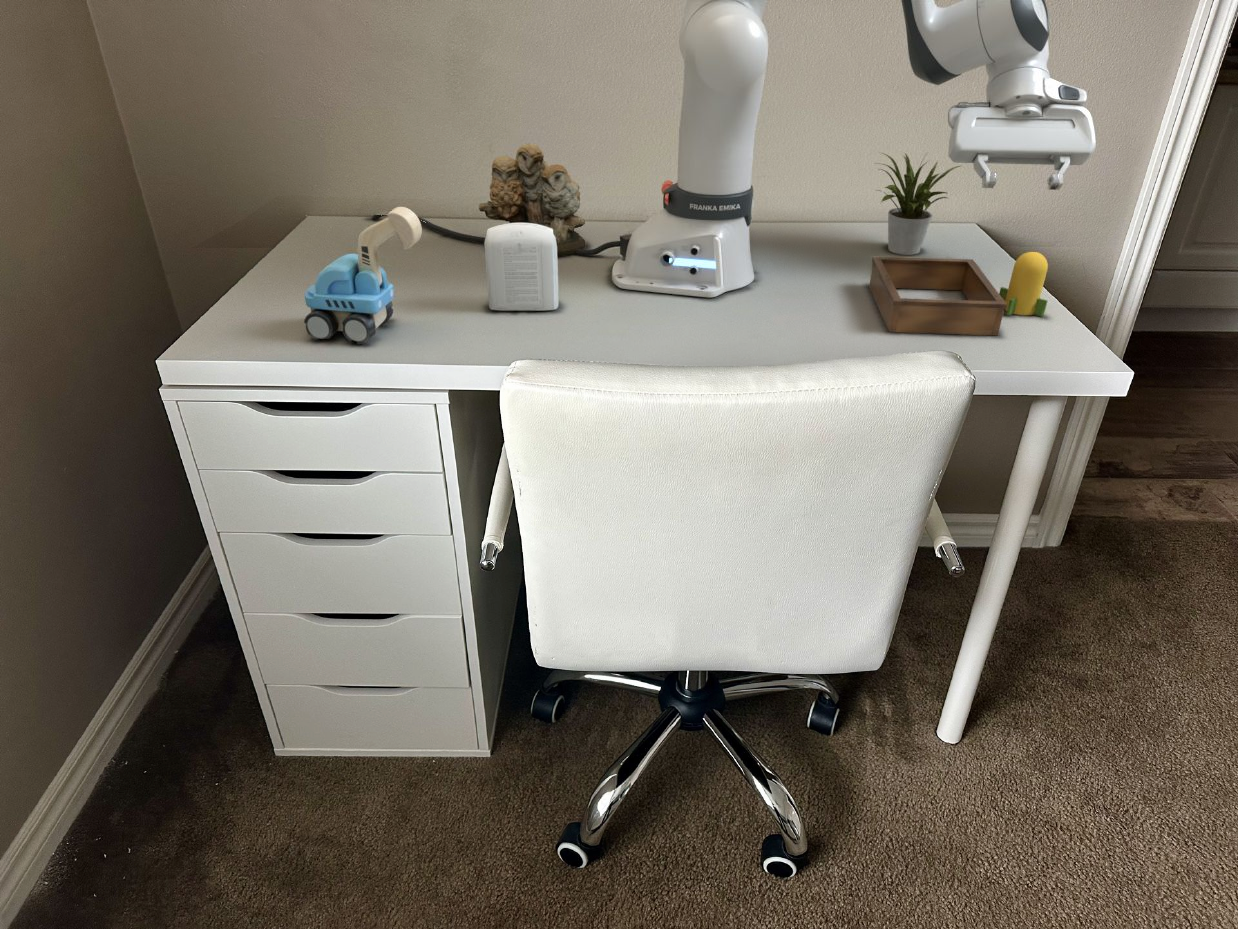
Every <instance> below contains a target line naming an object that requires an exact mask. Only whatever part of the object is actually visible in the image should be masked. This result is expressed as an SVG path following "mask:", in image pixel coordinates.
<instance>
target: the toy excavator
mask: <svg viewBox="0 0 1238 929" xmlns="http://www.w3.org/2000/svg"><path fill="white" fill-rule="evenodd" d="M391 210H392V211H390V212H389V213H387V216H386V218H384V219H382V220H379V221H378V222H375V223H374V224H372V225H370V226H368V227H366V228H364V230H362V231H361V232H360V233H359V236H358V239H357V254H356V253H347V254H344V255H341V256H339V257H338V258H336V259H335V260H333V261H332V262H330V263H329V264H328V265H327V266H325V267H323V268H322V269H321V270H320V271H319V273H318V274H317V277H316V280H315V283H313V284H311V285H310V286H309V287H308V289H307V290H305V292H304V299H305V300H304V301H305V305H306V307H308V308H310V312H309V313H308V314H307V315H306V316H305V318H304V321H303V323H304V324H305V331H306V332H307V334H308V336H310V337H311V338H312V339H314V340H317V341H319V340H328V339H330V338H332V336H334V335H335V334H336V333H337V332H342V335H343V336H344V337H345V338H346V339H347V340H349V342H350V343H351V342H352V341H355V342H356V345H364V344H366V343H367V342H368V341H369V340H370V339H371V338H372V337H373V336H374V335H375V334H376V330H377V329H378V328H379V327H380V326H383V325H385V324H386V323H387V322H388V321H389V320H390V319H391V318H392V317H393V314H394V309H393V302H392V300H393V299H395V291H394V285H393V283H390V282H388V277H387V273H386V270H385V269H384V268H383V267H382V266H380V260H379V254H378V247H379V246H380V245H381V244H383V243H384V242H386V241H387V240H388V239H390V238H391V237H393V236H395V235H397V236H398V238H399V240H400V242H401V244H402V248H403V249H404V250H405V251H407V250H409V249H410V248H412V247H413V246H415V244H416V243H418V242H419V241H420V239H421V237H422V234H423V227H422V224H421V223H420V221H419V219H418V217H419V216H417V214H416V213H415V212H414V211H412V210H411V209H410V208H407V207H405V206H397V207H395V208H393V209H391Z"/></svg>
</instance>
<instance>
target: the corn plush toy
mask: <svg viewBox="0 0 1238 929" xmlns="http://www.w3.org/2000/svg"><path fill="white" fill-rule="evenodd" d="M1048 269H1049V263H1048V260H1047V258H1046V257H1045V256H1044V255H1043V254H1042V253H1040V252H1037V251H1028V252H1025V253H1022V254H1020V255H1019V256H1018V258H1017V259H1016V260H1015V261H1014V265H1013V268H1012V272H1011V276H1010V281H1009V284H1008V288H1007V287H1003V286H1001V287H1000V289H999V292H998V293H999V294H1000V296H1001V297H1002V298H1003V300H1004V301H1005V302H1006V304H1007V307H1006V308H1005V309H1004V311H1006V312H1005V316H1007V317H1010V316H1011V315H1013V314H1014V315H1017V316H1033V315H1035V316H1037V317H1041V318H1043V317H1044V316H1045V313H1046V309H1047V305H1048V300H1047V299H1045V298H1044V299H1043V298H1041V296H1042V291H1043V289H1044V284H1045V280H1046V277H1047V273H1048Z"/></svg>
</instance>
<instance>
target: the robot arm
mask: <svg viewBox="0 0 1238 929" xmlns="http://www.w3.org/2000/svg"><path fill="white" fill-rule="evenodd" d="M900 1H901V6H902V12H903V17H904V23H905V33H906V40H907V42H906V43H907V55H908V62H909V64H910V67H911V70H912V72H913V74H914V76H915V77H917V78H918V79H920V80H922V81H923V82H927V83H929V84H931V85H935V86H940V85H942V84H945V83H946V82H949V81H951V80H953V79H955V78H957V77H959V76H961V75H962V74H965V73H967V72H970V71H972V70H976V69H978V68H980V67H981V68H982V67H984V66H985V71H986V74H987V76H988V80H987V83H986V88H985V89H986V90H985V92H986V95H985V96H986V101H976V102H968V101H959V102H958V103H957V104H955V105H953V106H951V107H950V108H949V109H948V112H947V123H948V126H949V128H950V129H951V130H950V134H949V141H948V152H947V153H948V158H949V159H950V160H951V161H952V162H953V163H956V164H973V165H972V166H973V170H974V171H975V172H976V174H977V175H978V177H979V178H980V179H981V188H982V189H994V187H995V186H996V184H997V172H995V171H990V169H989V167H988V166H987V164H1001V165H1041V166H1043V165H1045V166H1047V165H1049V166H1050V165H1051V166H1053V168H1054V169H1053V170H1054V171H1057V172H1056V173H1051V174H1050V177H1048V178H1047V190H1050V191H1055V190H1056V191H1060V189H1062V187H1063V184H1064V174H1065V172H1066V171H1067V169H1068V167H1069V166H1082V165H1084V164H1085V163H1086V162H1087V161H1088V160H1089V159H1090V158H1091V156H1092V155H1093V154H1094V152H1095V151H1096V147H1097V146H1096V145H1097V141H1096V140H1097V139H1096V132H1095V126H1094V120H1093V116H1092V114H1091V112H1090V111H1089V109H1087V108H1086V107H1085V105H1086V102H1087V100H1088V95H1087V91H1086V90H1084V89H1083V88H1080V87H1077V86H1076V87H1075V86H1072V85H1069V84H1067V83H1066V84H1065V83H1064V82H1060V81H1058V80H1056V79H1054V78H1051V73H1050V70H1049V69H1048V61H1049V58H1050V46H1049V45H1050V44H1049V37H1050V23H1049V12H1048V7H1047V4H1046V0H961V1H958V2H956V3H954V4H950V5H949V6H944V7H940V6H938V5H937V4H936V3H935V0H900ZM767 3H768V0H686V1H685V6H684V11H683V16H682V20H681V25H680V28H679V36H678V45H679V50H680V55H681V56H682V59H683V63H684V64H683V65H684V69H683V86H682V99H681V108H680V110H681V111H680V121H679V127H678V128H679V129H678V148H677V149H678V150H677V151H678V152H677V153H678V154H677V182H676V183H674V182H673V181H672V180H665V181H664V182H663V183H662V184H661V193H662V195H663V196H662V207H663V208H662V209H661V210H659V211H658V212H657V213H656V214H654V215H653V216H651V217H650V218H649V219H647V220H646V221H645V222H643V223H642V224H640V225H639V226H638V227H636V228H635V230H633V232H632V233H629V234H623V235H619V240H613V241H608V242H606V243H603V244H601V245H599V246H597V247H594V248H591V249H585V248H584V249H576V250H575V251H574V253H573V254H574V255H578V256H595V255H598V254H601V253H602V252H604V251H605V250H608V249H613V248H619V255H621V256H620V257H619V258H617V260H615V261H614V264H613V266H612V270H611V280H612V282H613V285H615V286H616V287H618V288H620V289H624V290H631V291H641V292H651V293H661V294H672V295H680V296H690V297H699V298H715V297H718V296H721V295H722V294H724V293H726V292H730V291H734V290H738V289H742V288H744V287H746V286H748V285H750V284H751V283H752V282H753V281H754V280H755V272H754V268H753V262H752V256H751V243H750V242H751V241H750V225H751V222H752V220H753V212H754V200H755V199H754V198H755V194H754V187H753V185H752V178H753V177H752V176H753V164H754V150H755V139H756V132H757V131H756V129H757V124H758V119H759V114H760V108H761V103H762V98H763V92H764V84H765V79H766V71H767V64H768V58H769V35H768V32H767V31H768V30H767V29H766V27H765V24H764V22H763V20H762V19H763V16H764V13H765V11H766V7H767ZM382 217H388V216H387V215H382V216H381V215H375V214H373V215H372V216H371V219H370V220H371V221H378V220H379V219H380V218H382ZM417 217H418V219H419V221H420V223H421V225H423V226H424V227H426V228H428V229H431V230H432V231H434V232H438V233H439V234H443V235H445V236H449V237H451V238H456V239H459V240H462V241H463V240H464V241H468V242H473V243H479V244H484V243H485V238H486V236H484V237H483V236H477V235H472V234H466V233H462V232H457V231H454V230H451V229H448V228H445V227H442V226H439V225H437V224H435V223H433V222H430V221H428V220H427V219H424V218H423V217H419V216H417ZM421 220H422V221H421ZM423 221H425V222H426V223H425V222H423Z"/></svg>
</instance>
